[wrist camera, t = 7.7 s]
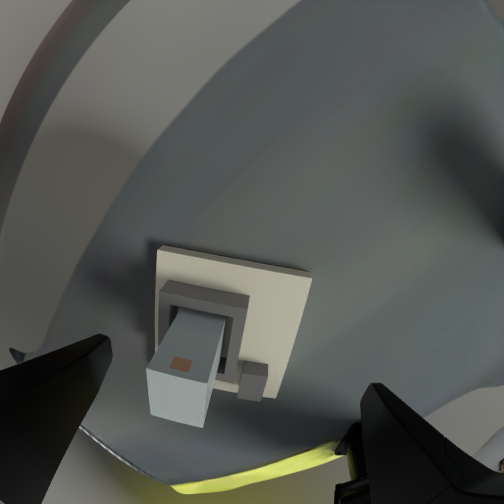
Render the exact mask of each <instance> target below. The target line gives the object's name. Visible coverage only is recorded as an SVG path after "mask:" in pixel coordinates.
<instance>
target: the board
mask: <svg viewBox="0 0 504 504" xmlns="http://www.w3.org/2000/svg"><path fill="white" fill-rule="evenodd" d="M311 282H312V276H311V273H310V272H306V271H301V270H295V269H290V268H284V267H278V266H273V265H267V264H262V263H256V262H251V261H245V260H240V259H235V258H229V257H224V256H218V255H213V254H208V253H202V252H197V251H192V250H186V249H181V248H176V247H170V246H165V245H163V246H162V247H160V248H159V249H158V250H157V265H156V289H155V352H156V350H157V349H158V347H159V345H160V343H161V342H162V340H163V338H164V337H165V335H166V333H167V331H168V330H169V328H170V326H171V324H172V323H173V321H174V319H175V318H176V316H177V314H178V312H179V311H180V309H181V307H185V308H190V309H194V310H199V311H204V312H209V313H214V314H219V315H224V316H227V322H226V329H225V335H224V342H223V349H222V354H221V358H220V362H219V366H218V369H217V373H216V377H215V381H214V385H213V388H214V389H219V390H224V391H230V392H235V393H237V398H239V399H245V400H252V401H259V402H261V399H262V397H268V398H276V396H277V393H278V390H279V388H280V385H281V382H282V379H283V376H284V373H285V370H286V366H287V363H288V360H289V357H290V354H291V351H292V348H293V344H294V341H295V338H296V334H297V331H298V328H299V324H300V321H301V318H302V314H303V311H304V307H305V304H306V300H307V296H308V293H309V289H310V285H311Z"/></svg>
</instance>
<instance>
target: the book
mask: <svg viewBox="0 0 504 504" xmlns="http://www.w3.org/2000/svg"><path fill="white" fill-rule="evenodd" d="M501 470H502V473H504V459H503V460H502V464H501Z"/></svg>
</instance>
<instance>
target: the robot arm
mask: <svg viewBox="0 0 504 504" xmlns="http://www.w3.org/2000/svg"><path fill="white" fill-rule="evenodd" d="M112 356H113V355H112V347H111V340H110V338H109V337H108V336H105V335H102V334H97V335H94V336H91V337H89V338H86V339H84V340H81V341H79V342H76V343H73V344H71V345H68V346H66V347H63V348H60V349H58V350H55V351H52V352H50V353H47V354H44V355H42V356H39V357H36V358H34V359H31V360H28V361H26V362H23V363H21V364H17V365H15V366H12V367H9V368H6V369H3V370H0V504H41V503H42V501H43V499H44V497H45V494H46V492H47V490H48V488H49V486H50V484H51V481H52V479H53V477H54V475H55V473H56V471H57V469H58V467H59V465H60V463H61V460H62V459H63V457H64V455H65V453H66V450H67V449H68V447H69V445H70V443H71V441H72V439H73V437H74V435H75V433H76V432H77V430H78V428H79V426H80V424H81V422H82V421H83V419H84V417H85V415H86V413H87V412H88V410H89V408H90V406H91V404H92V403H93V401H94V399H95V397H96V395H97V393H98V391H99V389H100V387H101V384H102V382H103V380H104V377H105V375H106V373H107V370H108V368H109V366H110V364H111V361H112ZM360 409H361V423H356V424H354V425H352V427H351V428H350V430H349V431H348V433H347V434H346V436H345V437H344V439H343V440H342V442H341V443H340V444H339V446H338V447H337V449H336V450H335V455H346V456H347V461H348V466H349V471H350V477H351V481H348V482H345V483H342V484H341V483H340V484H336V486H335V487H336V488H335V492H334V493H335V494H334V504H504V473H499V472H495V471H493V470H491V469H489V468H488V467H486V466H485V465H483V464H482V463H480V462H478V461H477V460H475V459H474V458H472V457H471V456H469V455H468V454H467V453H465V452H464V451H462V450H461V449H460V448H458V447H457V446H456V445H455V444H453V443H452V442H451V441H450V440H448V439H447V438H446V437H444V436H443V435H442V434H441V433H440V432H439V431H438V430H436V429H435V428H434V427H433V426H431V425H430V424H429V423H428V422H427V421H426V420H424V419H423V418H422V417H421V416H420V415H418V414H417V413H416V412H415V411H414V410H413V409H411V408H410V407H409V406H408V405H407V404H406V403H404V402H403V401H402V400H401V399H400V398H398V397H397V396H396V395H395V394H394V393H393V392H391V391H390V390H389V389H388V388H387V387H386V386H384V385H383V384H382V383H371V384H370V385H369V386H368V388H367V390H366V391H365V393H364V395H363V397H362V399H361V402H360Z"/></svg>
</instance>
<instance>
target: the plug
mask: <svg viewBox="0 0 504 504" xmlns="http://www.w3.org/2000/svg"><path fill="white" fill-rule="evenodd" d="M226 322H227V316H224V315H219V314H214V313H209V312H204V311H199V310H194V309H190V308H185V307H181V309H180V311H179V312H178V314H177V316H176V318H175V319H174V321H173V323H172V324H171V326H170V328H169V330H168V331H167V333H166V335H165V337H164V338H163V340H162V342H161V343H160V345H159V347H158V349H157V350H156V352H155V354H154V356H153V358H152V359H151V361H150V363H149V365H148V366H147V368H146V370H147V383H148V394H149V404H150V412H151V415H154V416H157V417H161V418H164V419H168V420H172V421H175V422H179V423H183V424H188V425H192V426H196V427H201V428H203V425H204V421H205V417H206V413H207V409H208V405H209V401H210V397H211V393H212V389H213V385H214V381H215V377H216V373H217V369H218V366H219V362H220V358H221V354H222V349H223V342H224V335H225V329H226Z"/></svg>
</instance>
